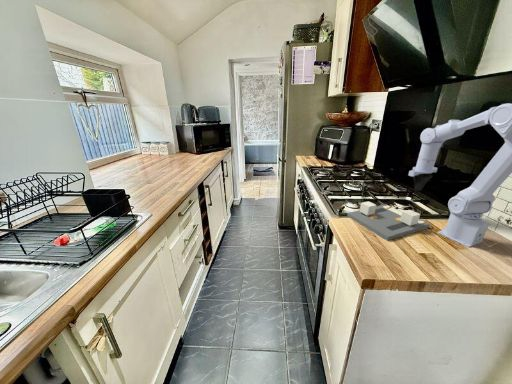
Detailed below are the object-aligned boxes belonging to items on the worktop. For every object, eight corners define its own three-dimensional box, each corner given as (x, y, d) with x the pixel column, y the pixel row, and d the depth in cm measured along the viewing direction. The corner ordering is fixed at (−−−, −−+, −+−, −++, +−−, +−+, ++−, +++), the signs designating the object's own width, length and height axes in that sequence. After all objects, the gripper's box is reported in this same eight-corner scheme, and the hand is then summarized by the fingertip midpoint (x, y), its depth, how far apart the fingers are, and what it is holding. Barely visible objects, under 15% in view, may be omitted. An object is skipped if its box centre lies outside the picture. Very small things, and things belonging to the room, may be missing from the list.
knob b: (374, 213, 88) (376, 205, 87) (367, 215, 87) (369, 206, 85) (366, 209, 92) (368, 201, 90) (359, 211, 90) (361, 202, 89)
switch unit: (428, 227, 82) (430, 223, 81) (386, 240, 74) (388, 236, 74) (384, 207, 98) (385, 203, 97) (347, 216, 91) (347, 212, 90)
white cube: (417, 223, 81) (420, 214, 79) (410, 225, 79) (412, 216, 78) (407, 218, 84) (409, 209, 82) (399, 220, 83) (402, 211, 81)
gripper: (428, 155, 92) (419, 184, 98) (404, 158, 88) (397, 189, 93) (446, 158, 86) (436, 189, 92) (422, 162, 82) (413, 195, 87)
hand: (417, 190), depth 92 cm, fingers closed
